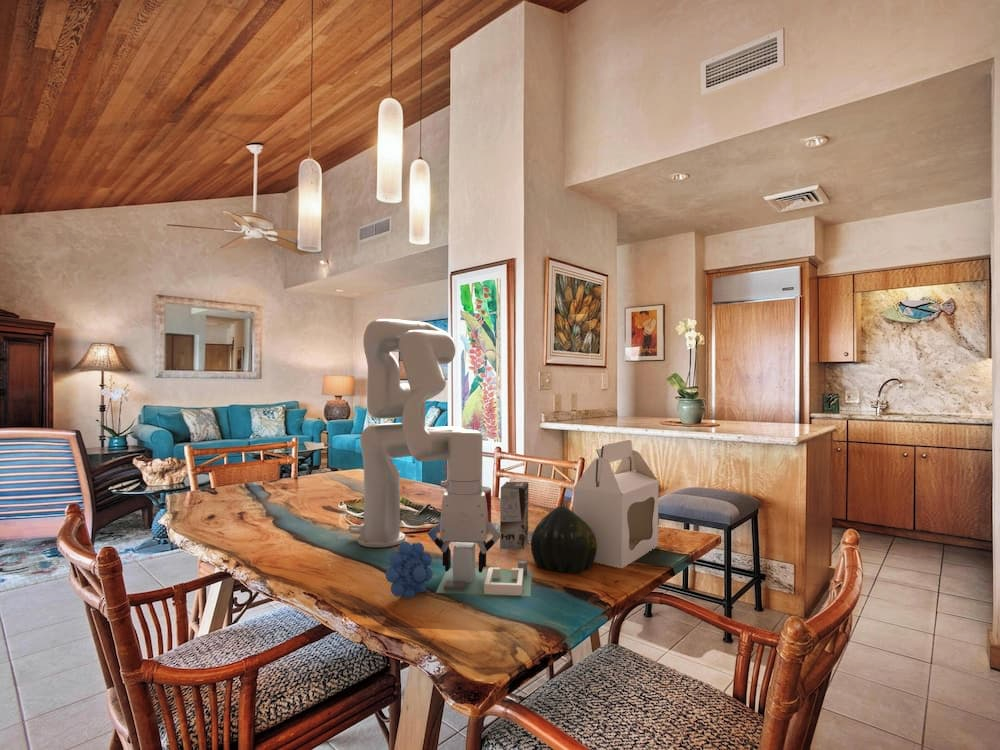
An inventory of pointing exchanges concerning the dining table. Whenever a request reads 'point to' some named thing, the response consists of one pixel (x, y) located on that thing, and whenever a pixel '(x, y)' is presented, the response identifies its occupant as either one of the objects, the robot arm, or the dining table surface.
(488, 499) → the canned food
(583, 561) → the squash
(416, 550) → the grapes
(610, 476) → the gable box
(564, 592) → the dining table surface
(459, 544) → the plug
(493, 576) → the frame
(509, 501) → the coffee box
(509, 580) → the board
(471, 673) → the dining table surface
